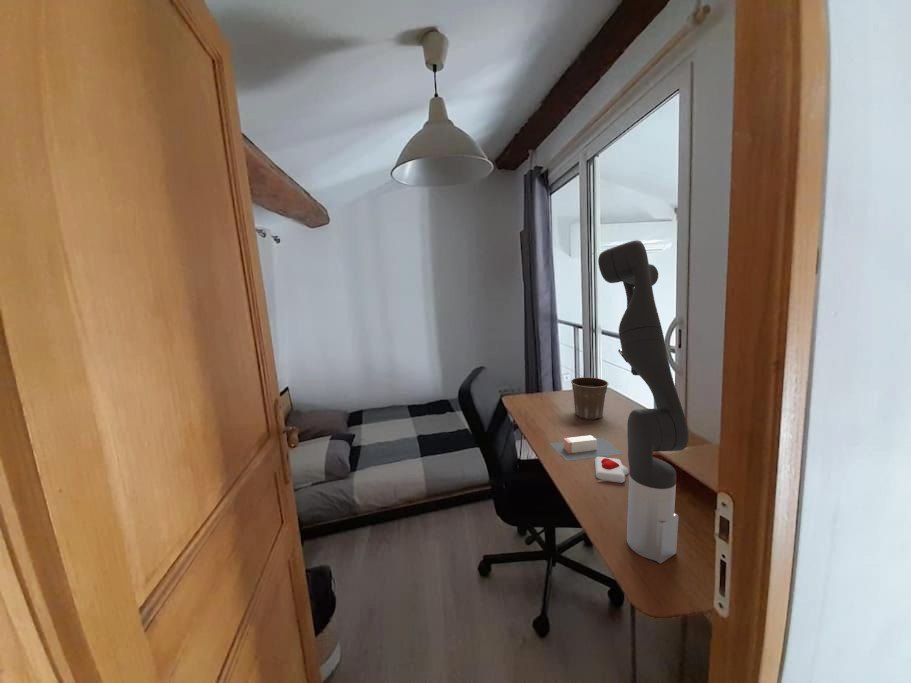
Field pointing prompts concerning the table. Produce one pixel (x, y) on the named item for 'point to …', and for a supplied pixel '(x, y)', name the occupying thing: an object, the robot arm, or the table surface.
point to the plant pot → (589, 396)
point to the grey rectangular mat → (602, 450)
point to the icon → (610, 469)
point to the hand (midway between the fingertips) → (635, 374)
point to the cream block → (580, 444)
